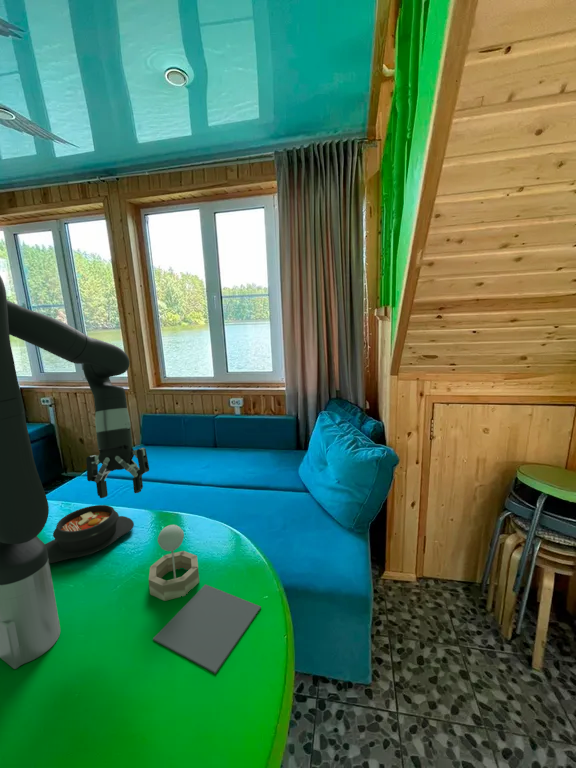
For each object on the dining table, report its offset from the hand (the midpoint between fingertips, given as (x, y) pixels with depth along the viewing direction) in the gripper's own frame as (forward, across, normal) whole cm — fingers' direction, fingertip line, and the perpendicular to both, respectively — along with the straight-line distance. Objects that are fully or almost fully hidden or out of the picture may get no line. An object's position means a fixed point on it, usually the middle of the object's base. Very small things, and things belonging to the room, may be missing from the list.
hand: (120, 494), depth 81 cm
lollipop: (+24, +8, +5) cm, 26 cm away
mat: (+28, +20, -7) cm, 35 cm away
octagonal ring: (+24, +8, +5) cm, 26 cm away
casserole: (+17, -23, +21) cm, 35 cm away
